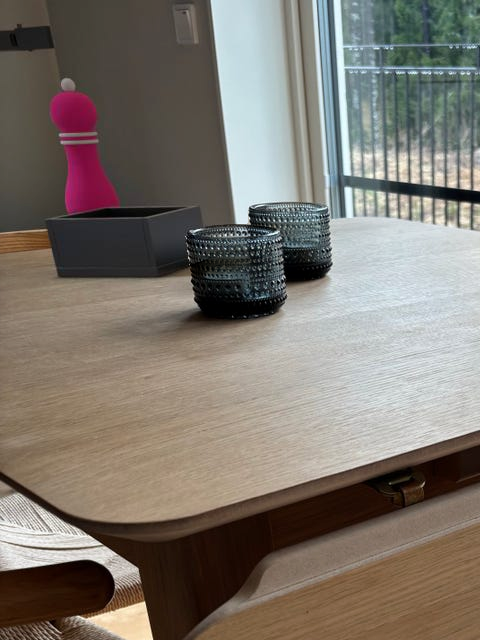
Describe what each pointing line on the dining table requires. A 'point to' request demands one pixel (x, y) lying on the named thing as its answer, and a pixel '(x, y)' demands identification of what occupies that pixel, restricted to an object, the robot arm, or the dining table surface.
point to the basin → (122, 241)
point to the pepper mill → (81, 151)
